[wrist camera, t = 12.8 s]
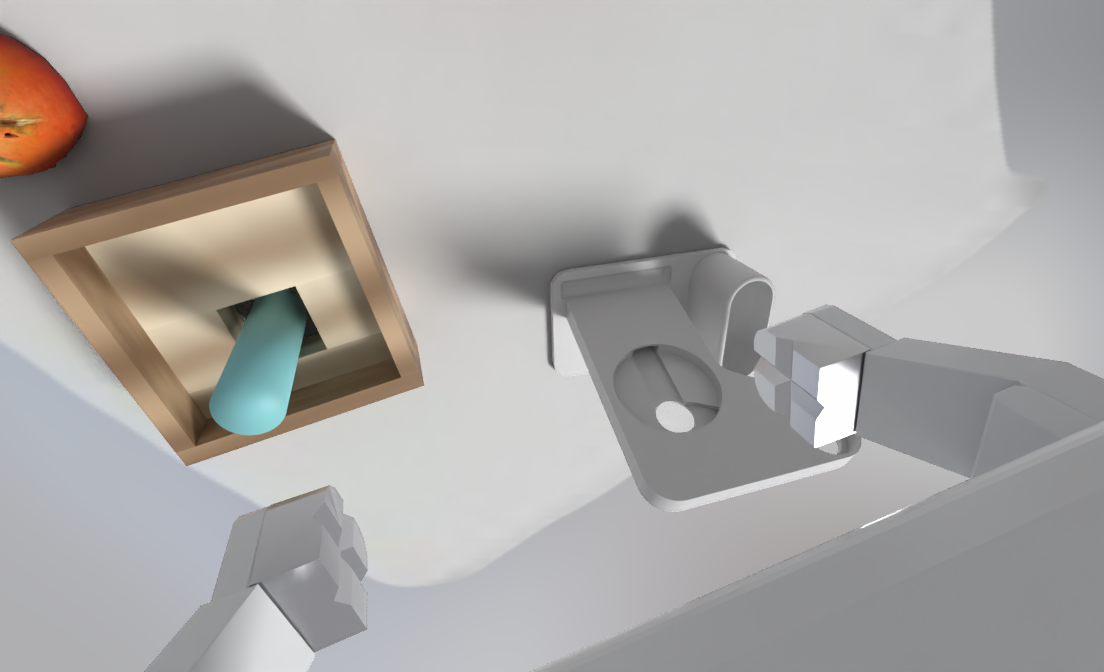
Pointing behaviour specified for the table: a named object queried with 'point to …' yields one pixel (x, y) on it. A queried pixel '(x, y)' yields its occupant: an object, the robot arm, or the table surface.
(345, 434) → the table surface
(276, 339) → the peg
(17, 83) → the tomato
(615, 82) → the table surface
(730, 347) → the phone holder
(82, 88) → the table surface
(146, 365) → the box
